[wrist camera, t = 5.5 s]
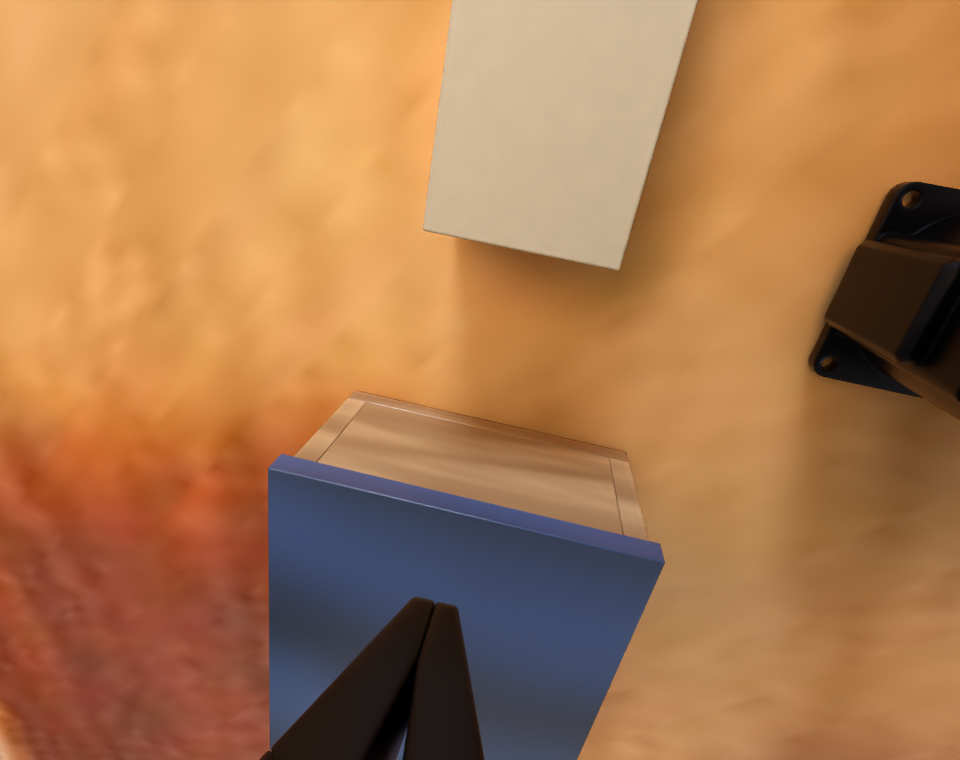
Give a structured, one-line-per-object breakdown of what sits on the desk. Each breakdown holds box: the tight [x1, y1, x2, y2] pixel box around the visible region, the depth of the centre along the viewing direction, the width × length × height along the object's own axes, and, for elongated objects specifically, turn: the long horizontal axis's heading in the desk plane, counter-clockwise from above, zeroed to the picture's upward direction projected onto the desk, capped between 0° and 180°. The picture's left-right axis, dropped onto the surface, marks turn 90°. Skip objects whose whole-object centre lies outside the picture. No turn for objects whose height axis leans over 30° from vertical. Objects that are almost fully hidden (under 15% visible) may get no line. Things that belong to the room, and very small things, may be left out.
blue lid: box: [268, 454, 665, 760], centre depth 18 cm, size 14×12×1 cm
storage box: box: [294, 391, 649, 541], centre depth 21 cm, size 14×12×6 cm
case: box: [423, 0, 698, 271], centre depth 13 cm, size 11×5×5 cm, turn 170°
